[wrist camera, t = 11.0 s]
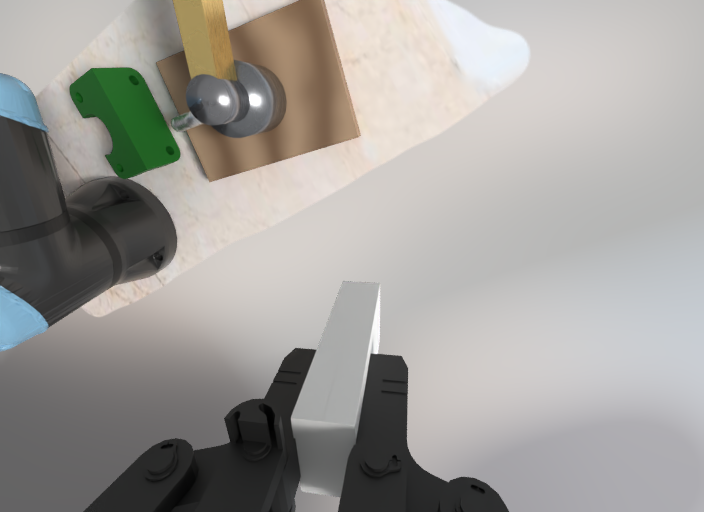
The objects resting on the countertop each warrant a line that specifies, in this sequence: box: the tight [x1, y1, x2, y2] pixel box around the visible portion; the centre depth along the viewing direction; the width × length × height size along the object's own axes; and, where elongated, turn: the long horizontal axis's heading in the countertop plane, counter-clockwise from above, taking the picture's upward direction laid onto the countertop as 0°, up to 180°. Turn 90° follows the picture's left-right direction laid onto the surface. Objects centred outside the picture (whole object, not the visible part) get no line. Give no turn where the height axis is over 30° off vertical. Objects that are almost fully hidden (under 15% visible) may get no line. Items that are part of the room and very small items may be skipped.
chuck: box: [171, 60, 287, 138], centre depth 37 cm, size 13×7×6 cm, turn 106°
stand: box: [156, 0, 361, 182], centre depth 39 cm, size 20×14×2 cm
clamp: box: [70, 68, 180, 179], centre depth 42 cm, size 12×6×9 cm, turn 12°
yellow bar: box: [173, 0, 250, 125], centre depth 29 cm, size 16×4×4 cm, turn 3°
